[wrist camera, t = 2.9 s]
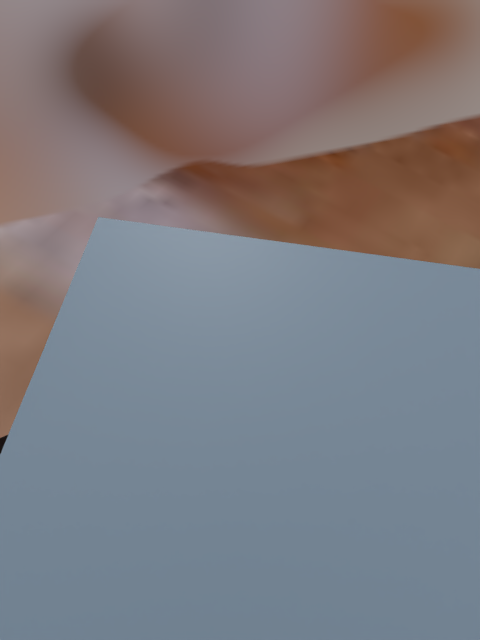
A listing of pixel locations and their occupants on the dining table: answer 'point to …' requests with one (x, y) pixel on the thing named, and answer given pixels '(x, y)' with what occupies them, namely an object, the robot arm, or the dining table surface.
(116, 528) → the slate blue brick
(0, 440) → the robot arm
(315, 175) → the dining table surface
